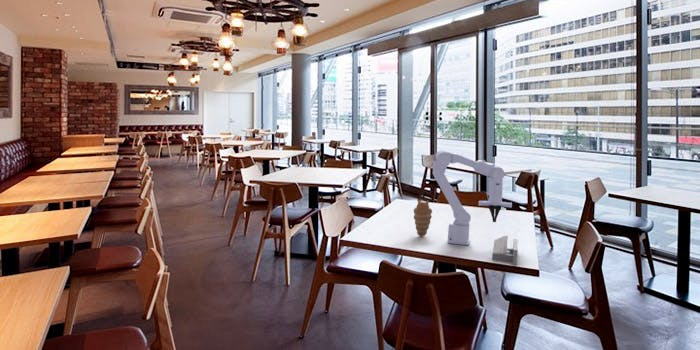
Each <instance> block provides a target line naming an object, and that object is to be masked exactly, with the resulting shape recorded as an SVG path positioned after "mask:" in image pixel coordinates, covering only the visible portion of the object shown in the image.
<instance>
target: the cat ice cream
mask: <svg viewBox="0 0 700 350" xmlns="http://www.w3.org/2000/svg"><path fill="white" fill-rule="evenodd" d="M429 203H430V200H425V201H423V200H421V199H417V205H416V207H415V208H413V213H414V215H413V219H414V224H415V229H416V234H417V236H420V237H424V236H426V235H427V233H428V230H429V227H430V224H431V219H432V217H433V216H432V213H433V210H432V208H431V207H430V206H429V205H430V204H429Z"/></svg>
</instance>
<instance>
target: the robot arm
mask: <svg viewBox="0 0 700 350" xmlns="http://www.w3.org/2000/svg"><path fill="white" fill-rule="evenodd" d="M456 163H459V164H462V165H464V166H466V167H467V166H468V167H469V168H473V171H474V173H478V174H481V175H483V176H486V177H489V187H488V189H489V191H488V200H479V201H478V206H479V207H480V206H483V207H484V206H487V207H488V210H489V211H490V214H491V218H492V219H491V220H492V223H497V218H498V215H499V213H500V211H501V209H502V208H511V209H512V207H513V203H512V202H507V201H503V185H504V182H503V179H504V178H505V176H506V173H505V170H504V169H503V168H502V167H500V166H498V165H496V164H494V163H488V162H486V160H485V159H482V160H481V159H478V160H476V161H475V160H472V159H470V158H468V157H465V156H463V155H460V154H458V153H455V152H450V151H446V150H443V149H442V150H439V151H437V152H436V153H435V155H434V158H433V163H432V164H433V165H432V166H433V167H432V175H433V177H434V179H435V180H436V182H437V184H438V186H439V187H440V190H441V191H442V193H443V195H444V197H445V198H446V200H447V202H448V204H449V206H450V207H451V210H452V212H453V213H452V214H453V218H454V221H453V222H449V224H448V230H447V232H448V234H447V244H455V245H463V246H464V245H465V246H469V245H470V242H471V239H469V238H470V223H471V219H472V218H471V214H470V213H469V212H468V211H467V210H466V209H465V208H464V206H463V205H462V203H461V202H460V199H459V198H458V196H457V195H456V193H455V191H454V189H453V186H452V185H451V184H450V182H449V180H448V179H447V176H446V175H445V174H446V170H447V167H448V166H449V165H450V164H456Z"/></svg>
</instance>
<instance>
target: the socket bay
mask: <svg viewBox="0 0 700 350" xmlns="http://www.w3.org/2000/svg"><path fill="white" fill-rule="evenodd" d="M512 241H513V243H512V246H513V247H512V248H509V247H507V251H510V254H501V253H493V251H494V246H493V250H492V255H491V256H492V257H491V259H492V260H495V261H503V262H512V265H515V266H516V265H517V264H518V255H519V254H518V253H519V252H518V251H519V249H518V247H519V245H518V238H513V240H512Z"/></svg>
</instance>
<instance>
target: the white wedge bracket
mask: <svg viewBox="0 0 700 350" xmlns="http://www.w3.org/2000/svg"><path fill="white" fill-rule="evenodd" d="M508 238H509V237H508V235H502V236H501V237H499V238H497V239H494V241H493V247H494V251H493V250H492V254H493V253H501V254H510V251H507V248H508Z"/></svg>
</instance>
